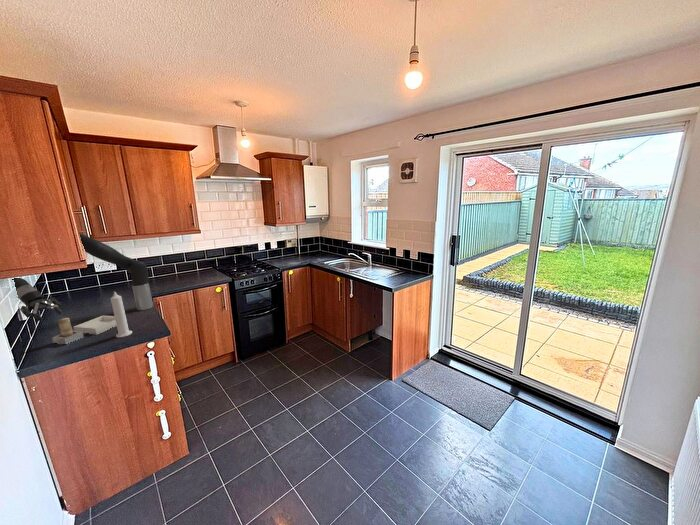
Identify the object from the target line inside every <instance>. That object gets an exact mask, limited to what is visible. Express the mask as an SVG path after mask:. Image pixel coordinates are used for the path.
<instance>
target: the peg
mask: <svg viewBox="0 0 700 525" xmlns="http://www.w3.org/2000/svg"><path fill="white" fill-rule="evenodd" d="M57 324H58V327H59V332H60V334H61V335H62V337H67V336H70V335H72V334H73V331H74V329H73V327H72V324H71V320H70V317H63V318H60V319H57Z"/></svg>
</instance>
